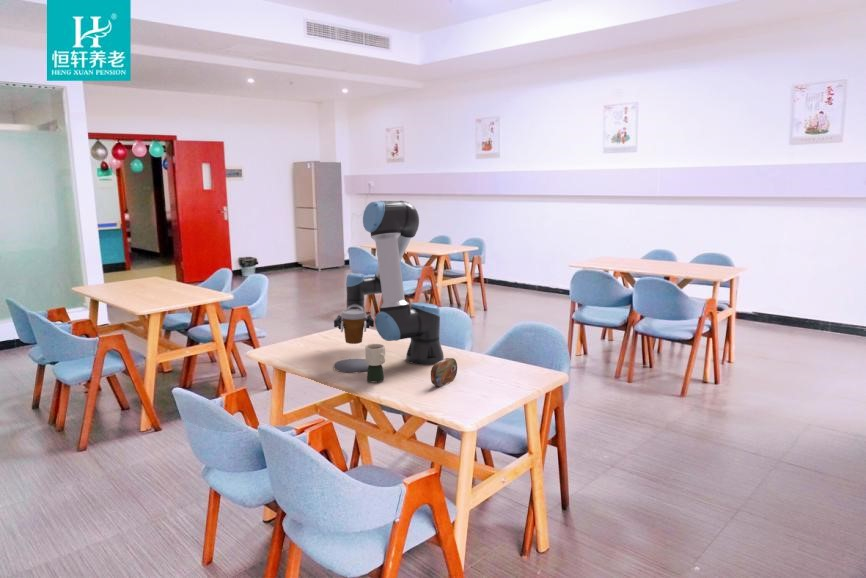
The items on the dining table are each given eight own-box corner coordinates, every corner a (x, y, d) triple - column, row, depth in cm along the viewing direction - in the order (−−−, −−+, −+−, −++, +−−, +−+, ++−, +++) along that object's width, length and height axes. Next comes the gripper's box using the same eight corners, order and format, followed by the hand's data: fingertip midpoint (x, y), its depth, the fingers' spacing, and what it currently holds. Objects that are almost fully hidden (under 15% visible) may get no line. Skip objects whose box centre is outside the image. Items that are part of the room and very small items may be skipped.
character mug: (392, 383, 212) (392, 347, 210) (375, 387, 207) (375, 351, 205) (375, 375, 220) (375, 341, 218) (358, 379, 216) (358, 344, 214)
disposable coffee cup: (339, 344, 225) (339, 314, 223) (343, 338, 234) (343, 308, 232) (364, 345, 225) (364, 314, 223) (367, 338, 234) (367, 309, 232)
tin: (436, 389, 206) (436, 366, 204) (428, 387, 207) (429, 364, 206) (457, 378, 218) (458, 356, 217) (450, 376, 220) (450, 354, 218)
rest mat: (382, 363, 235) (382, 361, 235) (361, 374, 221) (361, 372, 220) (348, 358, 241) (348, 356, 241) (325, 369, 227) (325, 367, 227)
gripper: (380, 323, 248) (381, 337, 226) (329, 324, 246) (325, 338, 223) (380, 306, 246) (381, 318, 224) (329, 306, 244) (325, 319, 222)
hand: (353, 328), depth 224 cm, fingers closed on disposable coffee cup, 8 cm apart
